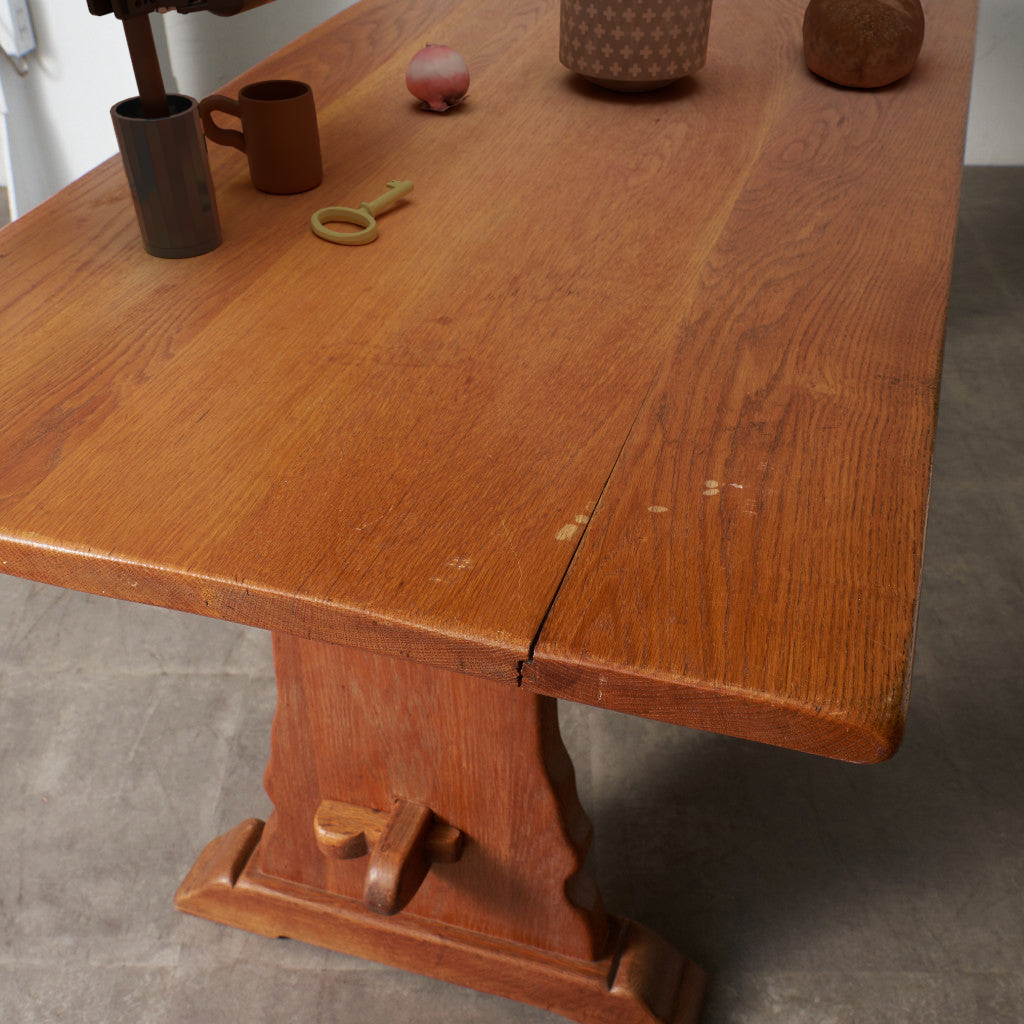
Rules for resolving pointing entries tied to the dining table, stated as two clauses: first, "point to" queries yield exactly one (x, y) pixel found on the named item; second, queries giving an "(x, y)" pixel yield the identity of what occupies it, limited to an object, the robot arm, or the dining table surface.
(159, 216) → the cup
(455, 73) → the onion
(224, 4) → the robot arm
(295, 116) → the mug
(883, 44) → the bread
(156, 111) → the brush
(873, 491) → the dining table surface
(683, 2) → the planter
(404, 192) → the key
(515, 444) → the dining table surface
